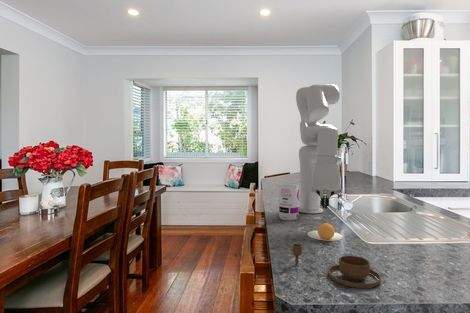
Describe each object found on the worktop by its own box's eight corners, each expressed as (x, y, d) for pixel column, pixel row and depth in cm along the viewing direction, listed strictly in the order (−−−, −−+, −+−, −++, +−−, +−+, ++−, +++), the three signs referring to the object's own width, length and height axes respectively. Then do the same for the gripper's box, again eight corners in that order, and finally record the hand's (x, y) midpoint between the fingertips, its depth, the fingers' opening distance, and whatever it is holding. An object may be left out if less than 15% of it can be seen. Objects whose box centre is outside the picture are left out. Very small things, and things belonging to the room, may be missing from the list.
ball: (317, 240, 110) (317, 223, 112) (334, 241, 108) (334, 225, 110) (317, 238, 105) (317, 221, 107) (335, 239, 103) (334, 222, 105)
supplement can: (297, 216, 141) (298, 183, 140) (299, 221, 133) (299, 185, 132) (278, 216, 142) (279, 182, 141) (279, 220, 134) (280, 184, 133)
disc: (308, 229, 120) (308, 229, 120) (342, 232, 116) (342, 232, 116) (306, 238, 108) (306, 238, 108) (344, 242, 105) (344, 241, 105)
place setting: (346, 299, 67) (347, 271, 67) (287, 266, 85) (287, 244, 85) (398, 283, 76) (399, 258, 75) (335, 256, 93) (335, 236, 93)
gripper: (346, 159, 122) (344, 207, 123) (306, 158, 126) (305, 204, 127) (348, 161, 115) (346, 211, 116) (305, 160, 118) (304, 208, 120)
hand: (324, 207), depth 122 cm, fingers closed
